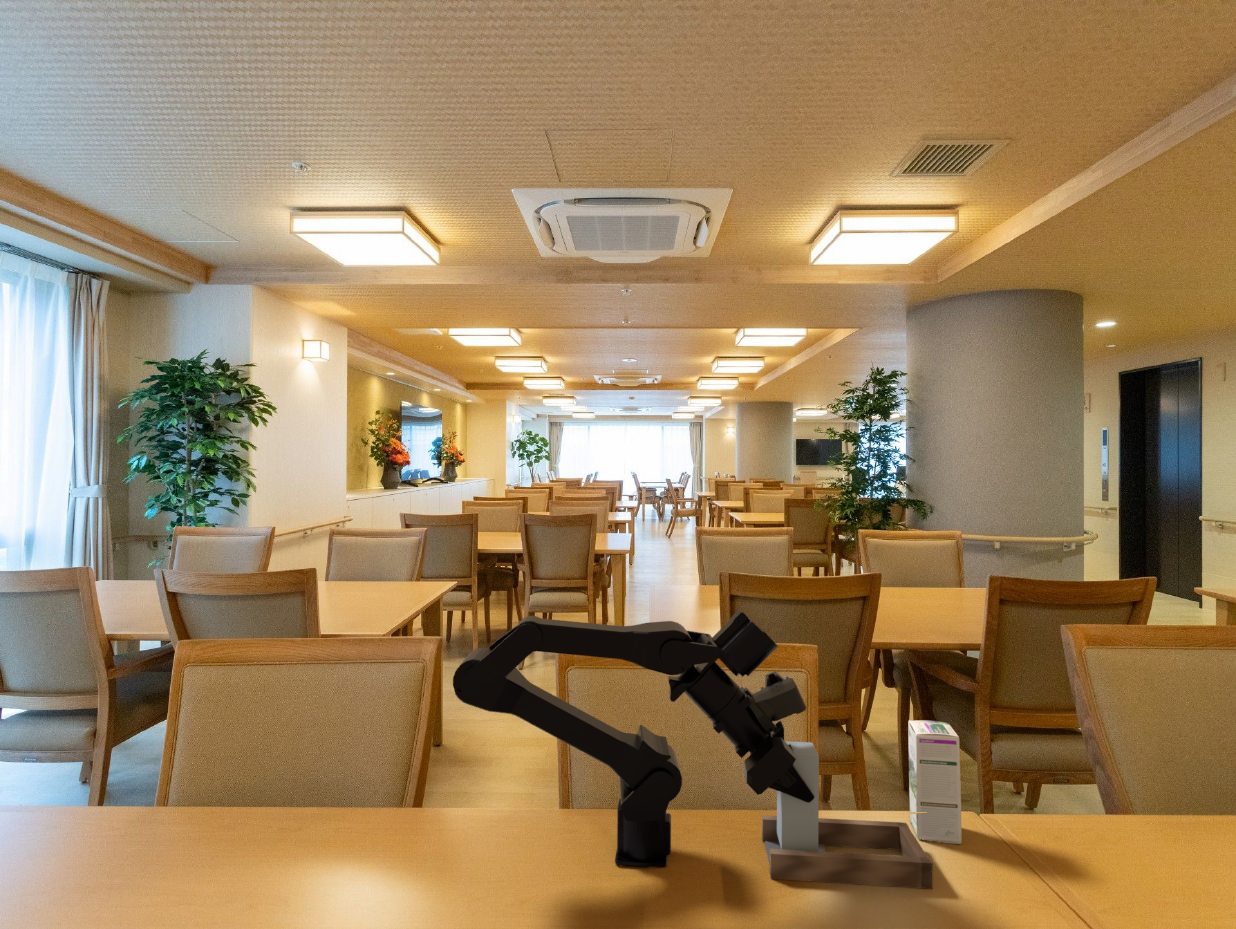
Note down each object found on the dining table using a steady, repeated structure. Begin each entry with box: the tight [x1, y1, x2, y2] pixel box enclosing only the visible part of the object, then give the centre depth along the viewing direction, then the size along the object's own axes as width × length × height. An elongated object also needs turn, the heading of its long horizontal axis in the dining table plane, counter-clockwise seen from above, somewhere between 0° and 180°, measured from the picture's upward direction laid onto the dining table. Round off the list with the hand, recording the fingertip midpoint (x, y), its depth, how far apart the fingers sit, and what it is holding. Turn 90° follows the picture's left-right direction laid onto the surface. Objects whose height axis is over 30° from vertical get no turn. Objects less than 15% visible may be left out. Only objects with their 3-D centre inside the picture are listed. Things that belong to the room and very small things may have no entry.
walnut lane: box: [761, 814, 934, 890], centre depth 88 cm, size 19×10×3 cm, turn 85°
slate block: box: [776, 740, 820, 851], centre depth 89 cm, size 4×4×12 cm
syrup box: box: [907, 719, 963, 845], centre depth 96 cm, size 6×6×14 cm
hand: (808, 791), depth 89 cm, fingers closed on slate block, 4 cm apart
